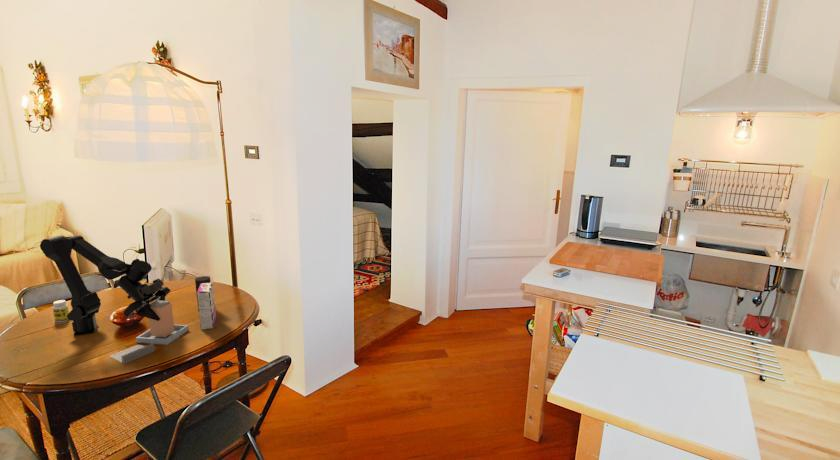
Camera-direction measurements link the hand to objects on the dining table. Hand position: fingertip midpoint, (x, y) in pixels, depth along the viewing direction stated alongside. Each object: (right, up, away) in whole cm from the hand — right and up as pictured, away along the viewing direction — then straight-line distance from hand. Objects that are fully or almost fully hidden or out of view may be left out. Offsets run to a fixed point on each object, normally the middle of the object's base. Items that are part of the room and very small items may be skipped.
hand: (164, 317), depth 158 cm
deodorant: (+2, -3, +27) cm, 28 cm away
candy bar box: (+10, -6, +14) cm, 18 cm away
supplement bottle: (-51, -5, +14) cm, 53 cm away
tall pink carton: (-2, -7, +2) cm, 7 cm away
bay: (-5, -11, -11) cm, 16 cm away
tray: (-1, -8, +2) cm, 9 cm away
